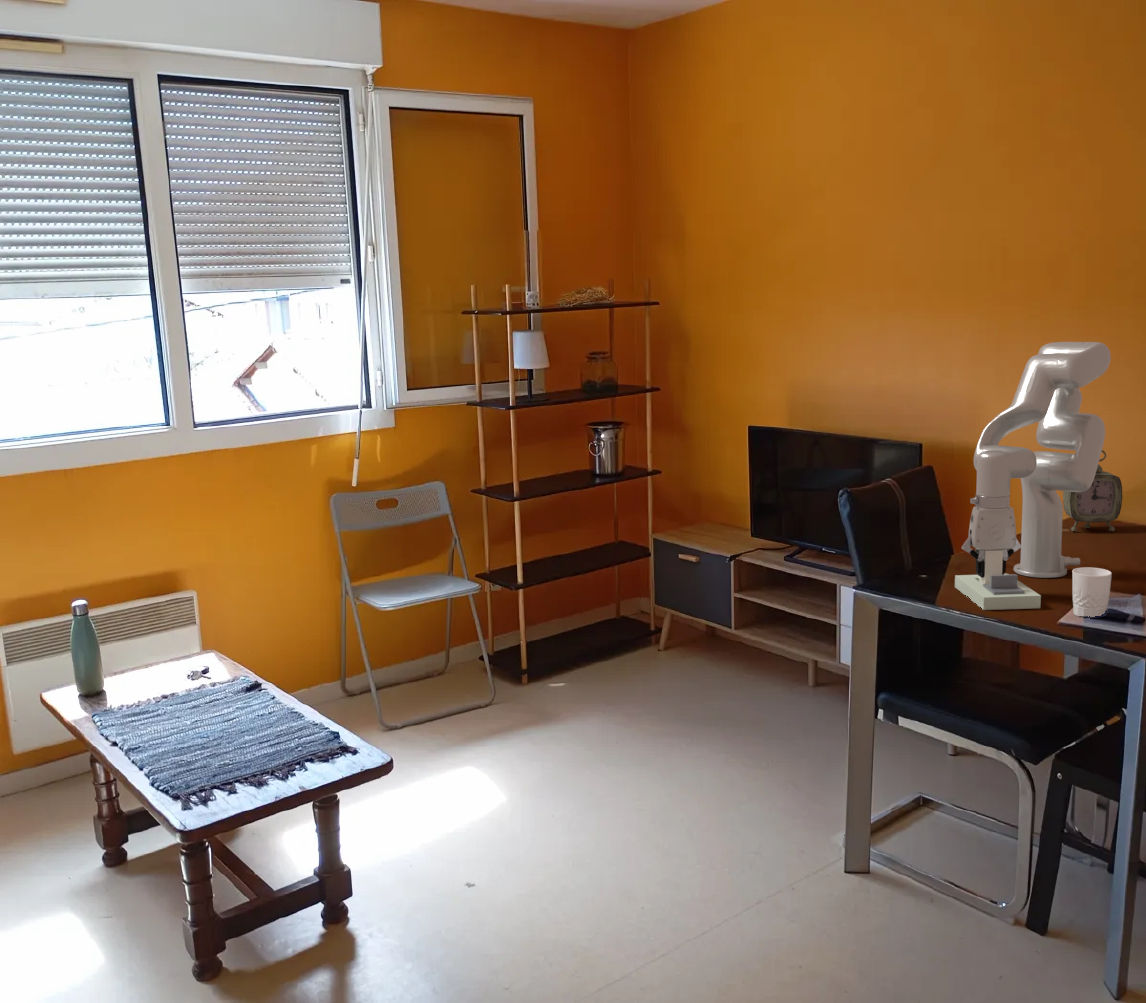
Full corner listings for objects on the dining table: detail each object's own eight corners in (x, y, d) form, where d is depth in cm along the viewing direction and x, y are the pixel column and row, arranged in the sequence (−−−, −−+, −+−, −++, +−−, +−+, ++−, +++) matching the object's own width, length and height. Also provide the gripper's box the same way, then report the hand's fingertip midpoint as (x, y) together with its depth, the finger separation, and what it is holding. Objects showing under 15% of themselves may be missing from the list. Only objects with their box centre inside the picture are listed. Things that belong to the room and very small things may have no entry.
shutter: (1012, 585, 249) (1013, 570, 248) (1024, 593, 242) (1024, 578, 241) (982, 586, 249) (983, 571, 248) (993, 594, 242) (994, 579, 241)
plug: (995, 585, 256) (997, 538, 254) (1001, 590, 252) (1003, 542, 250) (979, 586, 256) (980, 538, 254) (984, 590, 252) (986, 542, 250)
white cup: (1063, 610, 238) (1065, 568, 236) (1096, 608, 238) (1098, 566, 236) (1082, 621, 230) (1084, 577, 228) (1116, 618, 230) (1119, 574, 229)
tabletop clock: (1068, 533, 311) (1072, 450, 306) (1059, 527, 320) (1063, 446, 315) (1120, 533, 308) (1125, 449, 304) (1110, 526, 317) (1114, 445, 313)
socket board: (1007, 585, 260) (1007, 573, 259) (1040, 608, 240) (1040, 595, 240) (954, 587, 260) (955, 575, 260) (983, 610, 241) (983, 597, 240)
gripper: (962, 506, 247) (960, 581, 250) (1034, 503, 246) (1031, 578, 249) (952, 500, 254) (950, 573, 257) (1021, 497, 253) (1019, 570, 257)
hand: (990, 575), depth 253 cm, fingers closed on plug, 4 cm apart
